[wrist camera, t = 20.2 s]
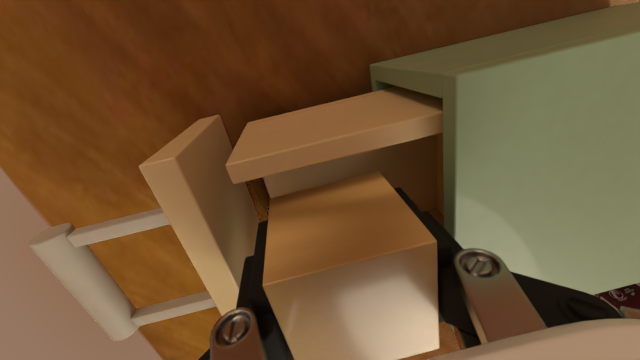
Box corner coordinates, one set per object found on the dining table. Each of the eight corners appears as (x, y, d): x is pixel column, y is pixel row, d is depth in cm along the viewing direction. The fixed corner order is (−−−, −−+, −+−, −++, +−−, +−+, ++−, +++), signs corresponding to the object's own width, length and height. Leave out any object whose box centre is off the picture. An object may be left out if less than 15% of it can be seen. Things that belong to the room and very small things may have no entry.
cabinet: (388, 227, 20) (452, 332, 13) (368, 64, 15) (456, 74, 8) (571, 180, 21) (743, 255, 13) (611, 6, 16) (932, -41, 8)
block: (297, 279, 13) (304, 385, 9) (269, 197, 11) (261, 285, 7) (389, 255, 13) (440, 349, 9) (379, 170, 11) (438, 240, 7)
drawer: (171, 283, 19) (119, 392, 13) (84, 146, 14) (-62, 214, 8) (440, 215, 19) (512, 289, 13) (437, 61, 15) (546, 66, 9)
